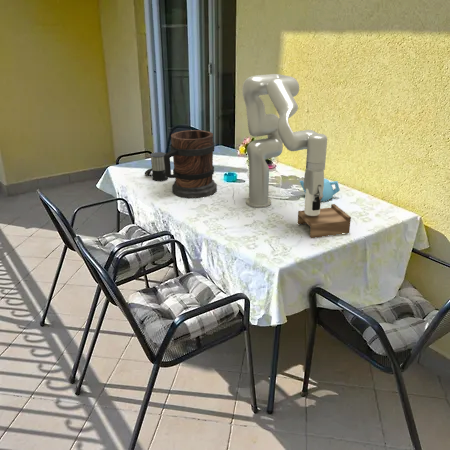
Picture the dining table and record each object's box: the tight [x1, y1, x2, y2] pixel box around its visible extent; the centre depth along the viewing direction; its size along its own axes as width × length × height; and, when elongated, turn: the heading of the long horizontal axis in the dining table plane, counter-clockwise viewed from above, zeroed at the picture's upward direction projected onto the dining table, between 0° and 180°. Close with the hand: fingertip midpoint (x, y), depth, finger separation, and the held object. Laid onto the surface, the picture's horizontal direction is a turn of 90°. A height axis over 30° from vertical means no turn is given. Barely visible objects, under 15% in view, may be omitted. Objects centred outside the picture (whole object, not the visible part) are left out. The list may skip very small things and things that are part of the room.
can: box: [303, 189, 322, 216], centre depth 178 cm, size 6×6×12 cm
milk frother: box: [144, 151, 169, 182], centre depth 248 cm, size 14×16×15 cm
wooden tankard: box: [164, 129, 218, 200], centre depth 222 cm, size 24×30×30 cm
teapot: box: [299, 178, 341, 202], centre depth 216 cm, size 15×15×11 cm
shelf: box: [297, 203, 352, 239], centre depth 183 cm, size 15×17×8 cm
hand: (312, 206), depth 179 cm, fingers closed on can, 6 cm apart
